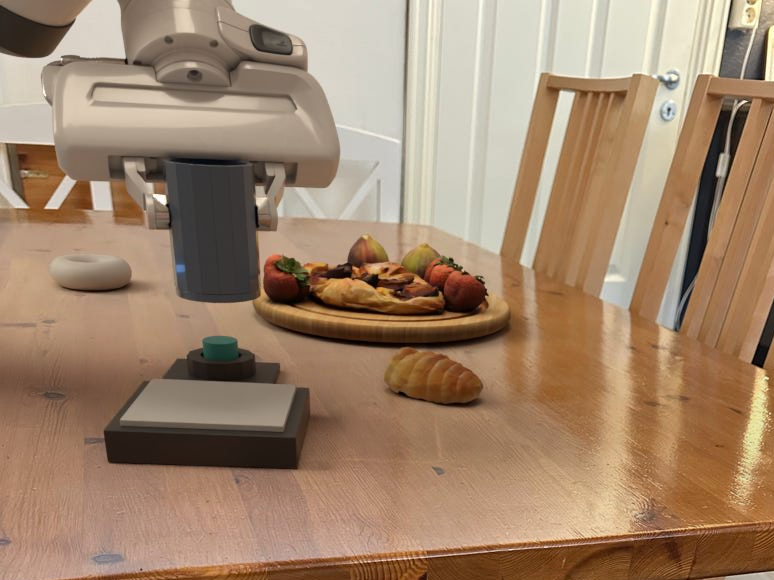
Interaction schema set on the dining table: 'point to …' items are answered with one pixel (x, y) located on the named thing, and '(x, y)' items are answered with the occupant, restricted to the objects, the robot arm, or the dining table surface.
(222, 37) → the robot arm
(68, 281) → the donut
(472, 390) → the pastry
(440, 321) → the wooden plate
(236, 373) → the pad
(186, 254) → the cup
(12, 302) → the dining table surface
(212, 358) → the tare button
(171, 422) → the scale
